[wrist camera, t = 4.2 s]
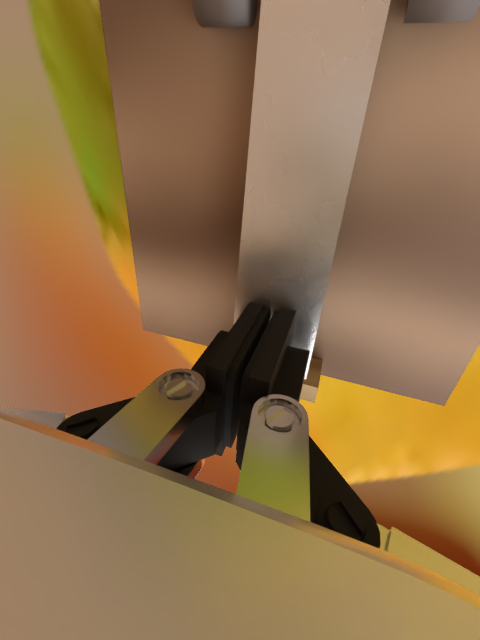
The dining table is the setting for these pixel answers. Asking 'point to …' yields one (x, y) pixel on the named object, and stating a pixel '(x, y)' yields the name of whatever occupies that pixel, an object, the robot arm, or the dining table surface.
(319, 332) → the walnut box
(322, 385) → the dining table surface
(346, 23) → the steel strap
